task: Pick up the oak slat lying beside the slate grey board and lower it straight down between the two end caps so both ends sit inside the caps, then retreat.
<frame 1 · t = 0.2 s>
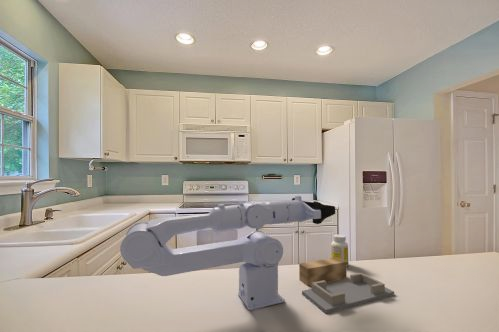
hand: (324, 208, 65), 21 cm above the countertop, tool horizontal, fingers open, 7 cm apart
supplement bottle: (340, 265, 79), on the countertop
cap board: (348, 294, 59), on the countertop
oak slat: (323, 279, 67), on the countertop
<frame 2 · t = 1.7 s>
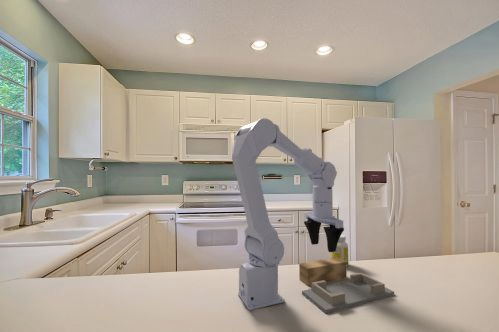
hand: (322, 247, 68), 9 cm above the countertop, tool pointing down, fingers open, 7 cm apart
nothing on the countertop moved.
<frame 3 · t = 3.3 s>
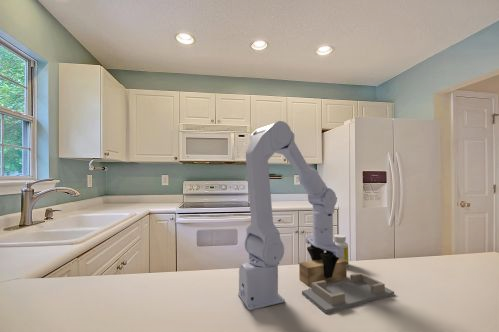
hand: (323, 274, 68), 1 cm above the countertop, tool pointing down, fingers closed on oak slat, 4 cm apart
oak slat: (323, 279, 67), on the countertop, touching gripper
everything else where it was.
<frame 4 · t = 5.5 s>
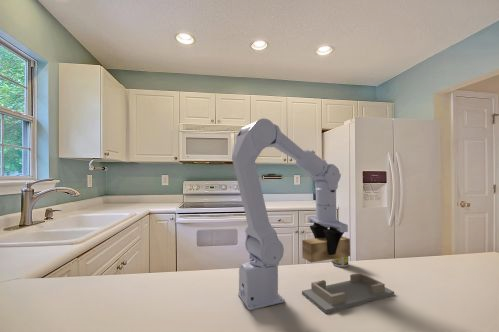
hand: (326, 251, 66), 8 cm above the countertop, tool pointing down, fingers closed on oak slat, 4 cm apart
oak slat: (326, 256, 66), point 7 cm above the countertop, touching gripper
everything else where it was.
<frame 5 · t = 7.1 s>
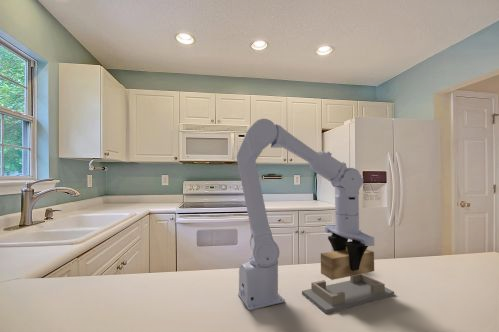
hand: (347, 266, 59), 7 cm above the countertop, tool pointing down, fingers closed on oak slat, 4 cm apart
oak slat: (347, 272, 59), point 6 cm above the countertop, touching gripper
everything else where it was.
when the fingers open (3 cm above the countertop, at t = 8.2 s): oak slat drops 1 cm, resting on cap board.
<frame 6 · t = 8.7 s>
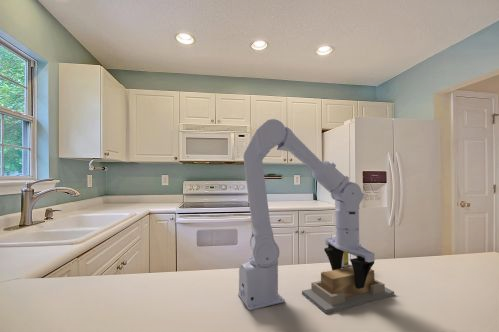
hand: (347, 280, 59), 3 cm above the countertop, tool pointing down, fingers open, 7 cm apart
oak slat: (348, 291, 59), point 1 cm above the countertop, touching cap board
everything else where it was.
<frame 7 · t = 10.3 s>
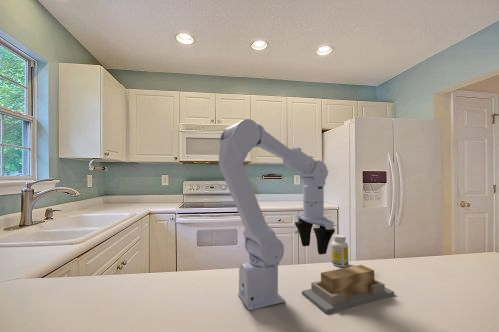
hand: (313, 249, 65), 9 cm above the countertop, tool pointing down, fingers open, 7 cm apart
nothing on the countertop moved.
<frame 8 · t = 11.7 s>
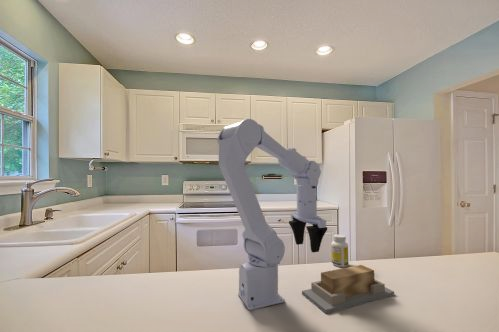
hand: (306, 247, 67), 9 cm above the countertop, tool pointing down, fingers open, 7 cm apart
nothing on the countertop moved.
at the end: oak slat 0.1 cm off-centre on the cap board, point 0.8 cm above the cap board's base; oak slat tilted 0°; the gripper is holding nothing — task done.
